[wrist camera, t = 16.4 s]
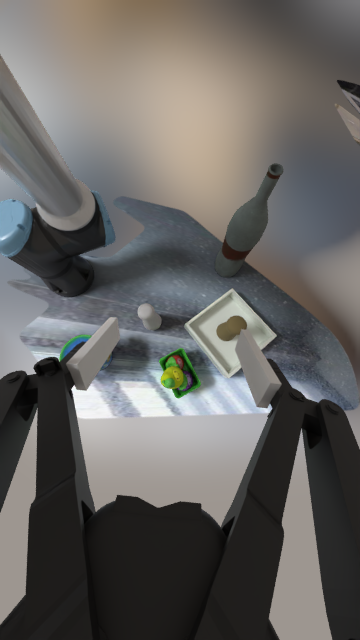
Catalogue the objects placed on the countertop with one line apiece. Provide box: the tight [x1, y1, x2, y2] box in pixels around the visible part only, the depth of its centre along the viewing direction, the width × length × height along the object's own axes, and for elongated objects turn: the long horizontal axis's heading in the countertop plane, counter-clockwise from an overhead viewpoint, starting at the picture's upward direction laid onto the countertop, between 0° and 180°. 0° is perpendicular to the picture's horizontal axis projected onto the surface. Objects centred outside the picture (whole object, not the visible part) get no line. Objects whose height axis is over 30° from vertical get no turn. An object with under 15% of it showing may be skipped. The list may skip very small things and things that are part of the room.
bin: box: [184, 288, 277, 379], centre depth 48 cm, size 20×20×4 cm
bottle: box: [215, 164, 283, 277], centre depth 42 cm, size 9×9×30 cm
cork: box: [216, 315, 247, 341], centre depth 44 cm, size 6×6×11 cm
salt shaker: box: [138, 303, 162, 330], centre depth 44 cm, size 6×6×13 cm
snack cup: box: [59, 335, 112, 371], centre depth 42 cm, size 16×11×10 cm
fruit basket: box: [159, 348, 201, 398], centre depth 41 cm, size 11×9×11 cm
